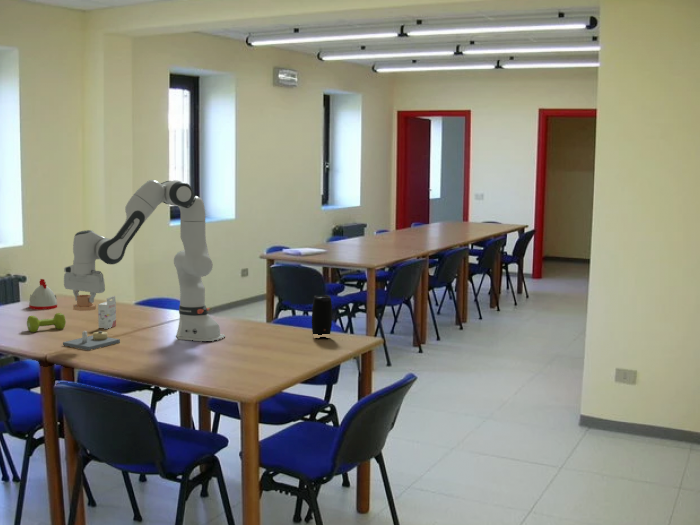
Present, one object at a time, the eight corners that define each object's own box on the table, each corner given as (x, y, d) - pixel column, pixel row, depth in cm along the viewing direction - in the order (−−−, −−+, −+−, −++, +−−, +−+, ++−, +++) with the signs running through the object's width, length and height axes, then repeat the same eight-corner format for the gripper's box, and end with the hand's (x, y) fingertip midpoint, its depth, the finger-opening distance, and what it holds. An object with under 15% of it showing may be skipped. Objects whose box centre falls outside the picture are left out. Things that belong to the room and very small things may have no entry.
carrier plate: (119, 342, 357) (119, 328, 356) (89, 350, 341) (89, 335, 340) (94, 338, 364) (94, 323, 363) (62, 345, 348) (62, 330, 347)
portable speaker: (330, 340, 376) (331, 298, 373) (310, 339, 376) (311, 297, 374) (332, 336, 384) (333, 295, 382) (312, 335, 385) (313, 294, 382)
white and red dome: (51, 304, 443) (51, 276, 441) (61, 308, 432) (60, 280, 431) (25, 306, 434) (25, 278, 432) (34, 310, 424) (34, 281, 422)
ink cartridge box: (106, 325, 393) (106, 294, 391) (116, 326, 392) (116, 295, 390) (97, 328, 384) (97, 297, 382) (107, 329, 383) (107, 298, 382)
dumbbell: (31, 333, 370) (31, 317, 369) (25, 330, 376) (25, 315, 375) (67, 329, 381) (67, 314, 380) (60, 326, 387) (60, 311, 386)
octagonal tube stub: (100, 308, 349) (100, 295, 348) (84, 311, 341) (84, 298, 340) (84, 306, 353) (84, 293, 352) (68, 309, 345) (68, 296, 344)
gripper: (108, 270, 343) (108, 303, 345) (72, 266, 352) (72, 298, 354) (97, 272, 337) (97, 305, 339) (61, 267, 347) (61, 300, 348)
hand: (84, 301), depth 347 cm, fingers closed on octagonal tube stub, 6 cm apart
